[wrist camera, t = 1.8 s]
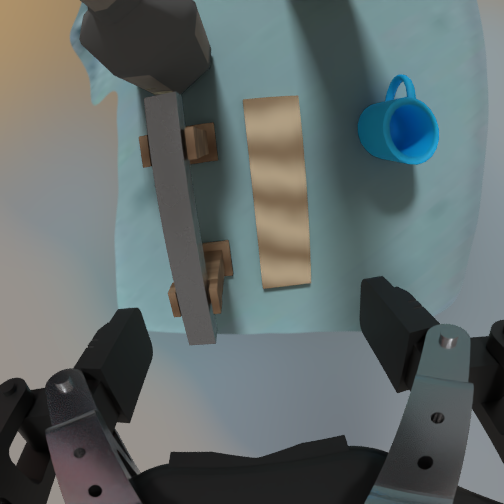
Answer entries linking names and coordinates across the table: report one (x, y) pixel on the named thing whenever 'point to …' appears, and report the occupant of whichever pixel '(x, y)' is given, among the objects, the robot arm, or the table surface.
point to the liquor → (148, 42)
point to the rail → (180, 214)
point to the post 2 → (210, 274)
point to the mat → (279, 189)
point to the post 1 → (189, 144)
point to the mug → (399, 127)
